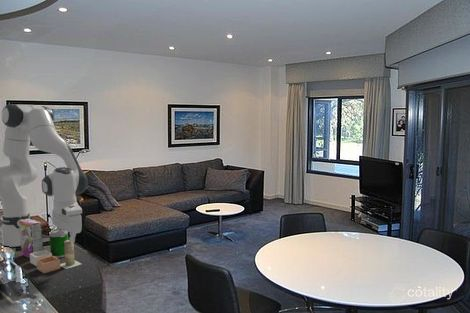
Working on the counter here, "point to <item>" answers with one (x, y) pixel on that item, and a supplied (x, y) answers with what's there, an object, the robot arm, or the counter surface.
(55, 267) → the orange square socket block
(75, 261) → the coaster
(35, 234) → the candy bar box
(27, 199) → the robot arm
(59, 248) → the soda can
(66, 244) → the beech peg
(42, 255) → the light grey square bin
